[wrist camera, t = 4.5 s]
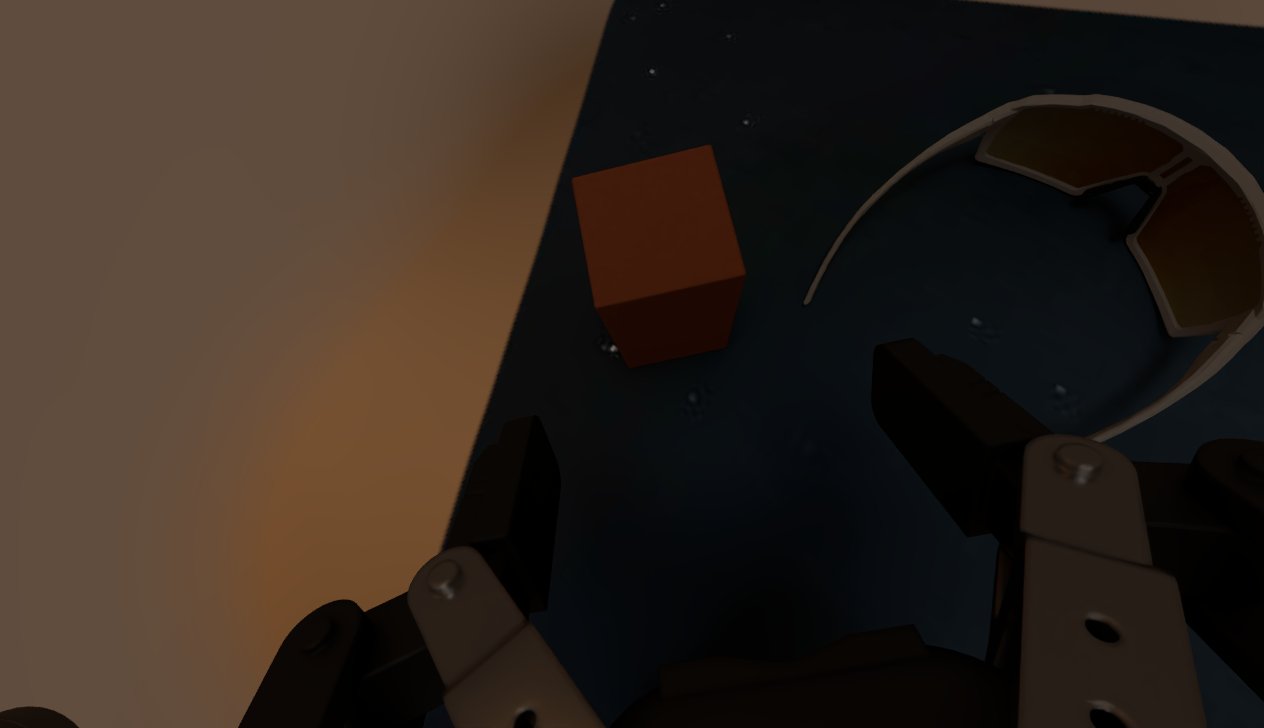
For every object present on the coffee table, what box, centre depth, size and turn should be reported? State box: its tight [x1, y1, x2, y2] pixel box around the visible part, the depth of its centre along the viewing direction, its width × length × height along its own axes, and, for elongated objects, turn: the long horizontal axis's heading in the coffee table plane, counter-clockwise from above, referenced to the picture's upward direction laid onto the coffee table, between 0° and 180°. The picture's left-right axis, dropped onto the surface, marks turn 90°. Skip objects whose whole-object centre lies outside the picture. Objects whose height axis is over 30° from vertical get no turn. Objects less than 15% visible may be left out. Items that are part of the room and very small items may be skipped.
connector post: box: [572, 145, 746, 368], centre depth 21 cm, size 5×5×9 cm
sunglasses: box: [804, 94, 1264, 443], centre depth 22 cm, size 14×15×5 cm
